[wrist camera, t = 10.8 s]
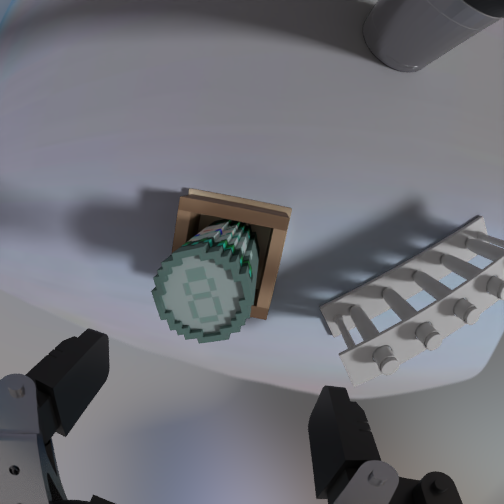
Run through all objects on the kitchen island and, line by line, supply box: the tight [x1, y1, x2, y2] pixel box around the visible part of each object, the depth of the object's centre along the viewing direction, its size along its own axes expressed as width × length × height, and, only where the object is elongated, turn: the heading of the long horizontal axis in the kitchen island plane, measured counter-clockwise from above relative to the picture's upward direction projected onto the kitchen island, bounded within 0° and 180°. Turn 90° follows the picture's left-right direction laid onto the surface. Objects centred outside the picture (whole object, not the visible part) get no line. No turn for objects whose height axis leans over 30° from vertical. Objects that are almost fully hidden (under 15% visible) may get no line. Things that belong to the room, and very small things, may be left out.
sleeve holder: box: [172, 189, 292, 320], centre depth 31 cm, size 11×11×6 cm
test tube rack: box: [320, 216, 504, 388], centre depth 27 cm, size 25×4×13 cm, turn 118°
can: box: [151, 219, 260, 343], centre depth 26 cm, size 6×6×15 cm
